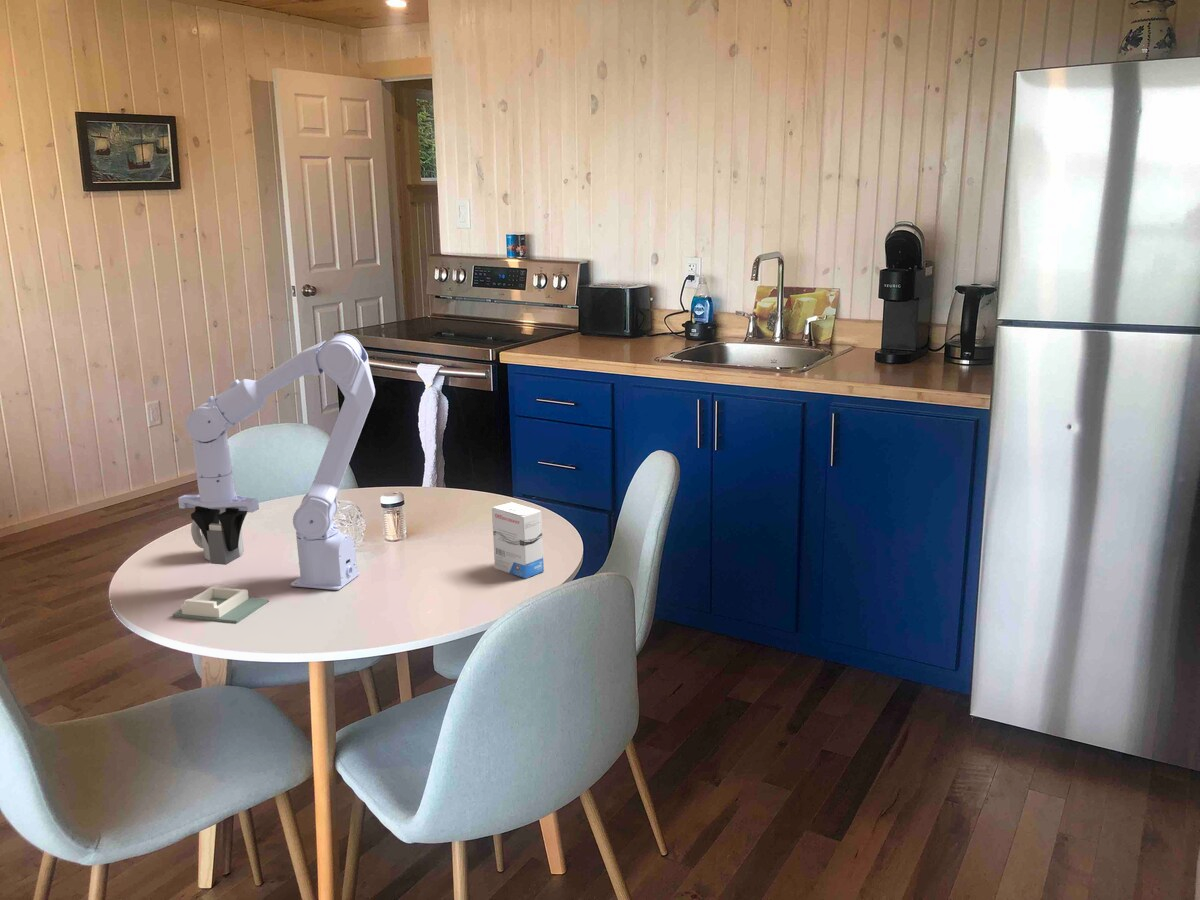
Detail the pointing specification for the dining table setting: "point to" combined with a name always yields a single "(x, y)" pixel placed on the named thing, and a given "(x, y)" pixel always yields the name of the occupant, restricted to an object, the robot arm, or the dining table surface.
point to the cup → (202, 542)
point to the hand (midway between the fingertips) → (224, 548)
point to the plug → (219, 546)
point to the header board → (220, 605)
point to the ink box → (518, 539)
